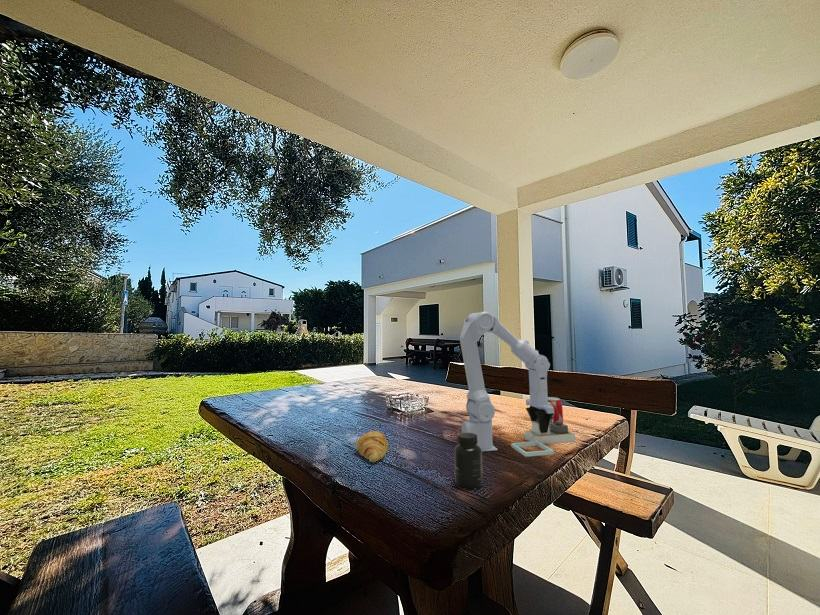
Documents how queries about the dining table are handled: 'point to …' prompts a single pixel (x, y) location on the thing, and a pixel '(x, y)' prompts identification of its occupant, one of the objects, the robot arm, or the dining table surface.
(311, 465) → the dining table surface
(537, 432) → the white plug
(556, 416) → the soda can
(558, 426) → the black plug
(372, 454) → the croissant
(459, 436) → the supplement bottle
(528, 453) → the tray
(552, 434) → the power strip
